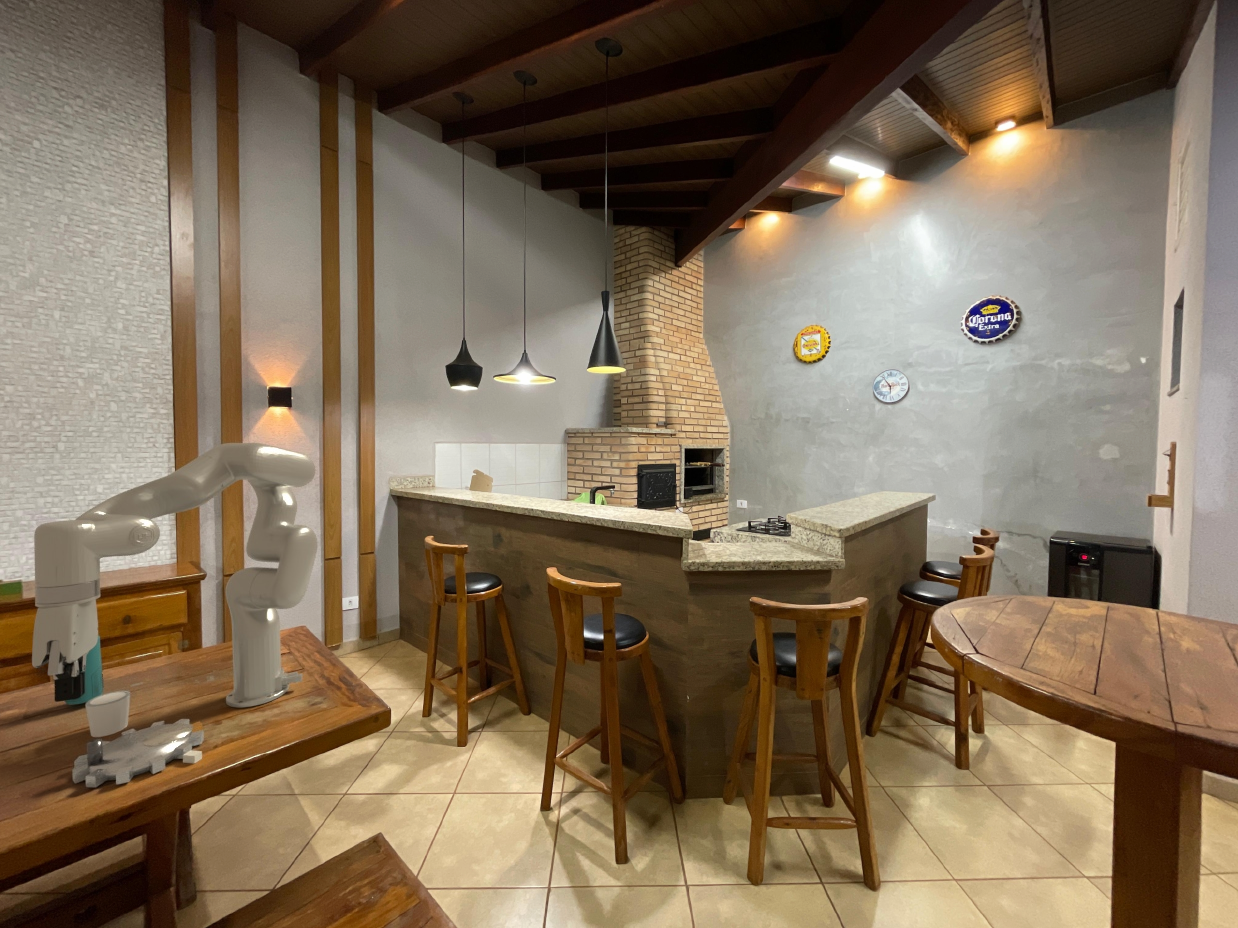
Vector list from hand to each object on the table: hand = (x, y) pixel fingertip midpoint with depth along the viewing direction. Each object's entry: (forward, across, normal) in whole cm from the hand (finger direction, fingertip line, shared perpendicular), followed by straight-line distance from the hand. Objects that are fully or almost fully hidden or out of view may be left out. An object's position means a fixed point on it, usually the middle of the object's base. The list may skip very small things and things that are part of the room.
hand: (70, 697), depth 86 cm
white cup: (+18, -26, -4) cm, 32 cm away
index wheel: (+18, -10, +6) cm, 21 cm away
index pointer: (+18, -4, +15) cm, 24 cm away
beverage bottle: (+18, -43, -14) cm, 49 cm away
